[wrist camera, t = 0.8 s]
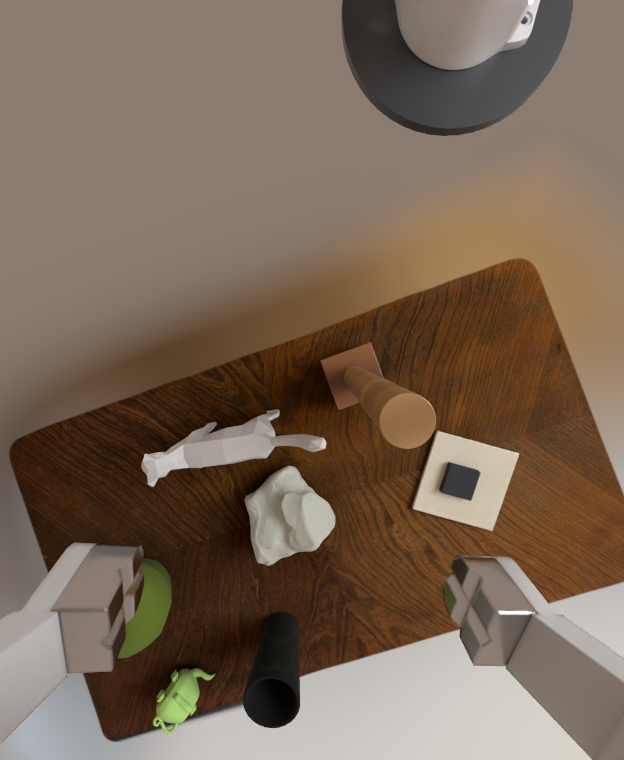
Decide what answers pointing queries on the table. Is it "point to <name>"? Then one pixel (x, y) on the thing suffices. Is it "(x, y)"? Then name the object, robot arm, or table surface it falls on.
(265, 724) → the cup
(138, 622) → the apple
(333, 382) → the wooden post stand
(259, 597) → the table surface
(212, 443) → the cat figurine
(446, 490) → the felt pad
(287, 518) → the decorative stone
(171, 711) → the green kettle
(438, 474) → the tile
